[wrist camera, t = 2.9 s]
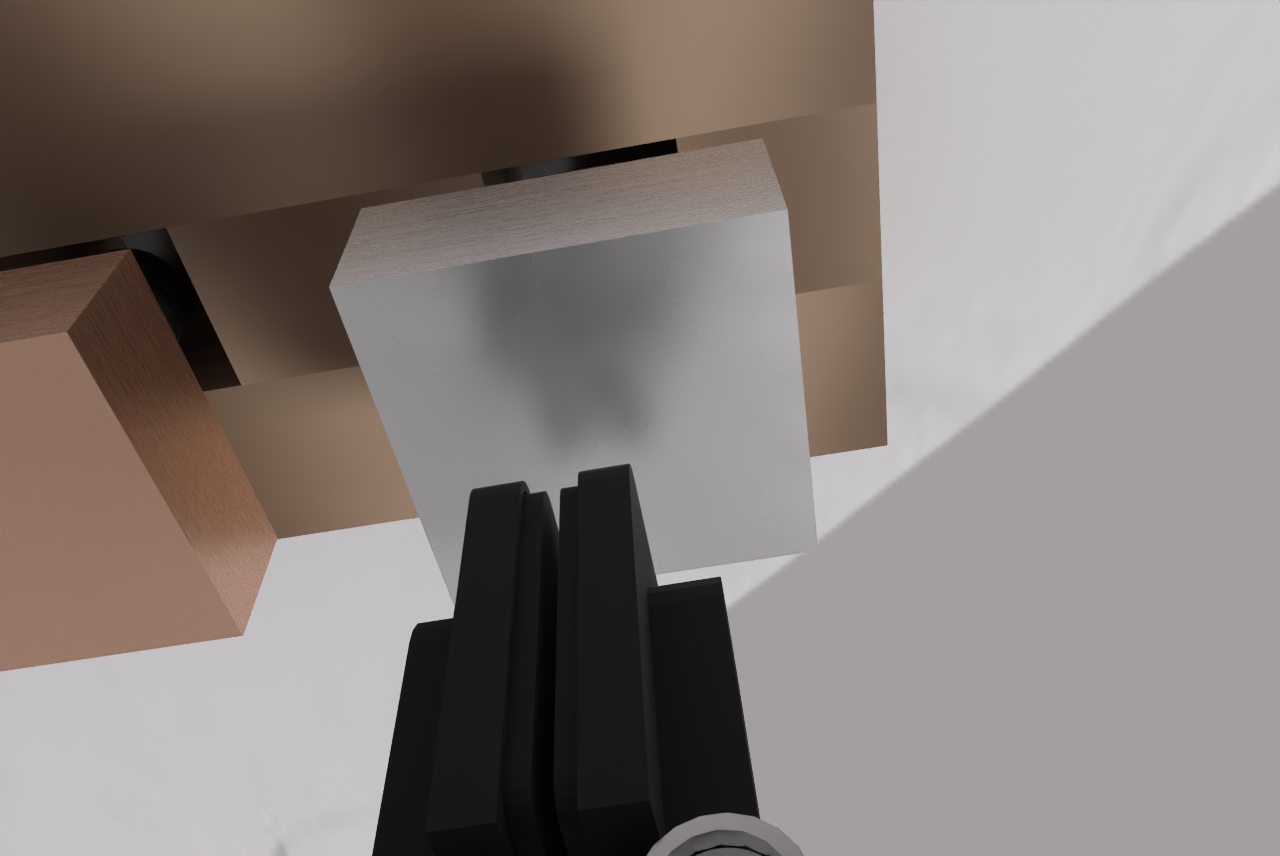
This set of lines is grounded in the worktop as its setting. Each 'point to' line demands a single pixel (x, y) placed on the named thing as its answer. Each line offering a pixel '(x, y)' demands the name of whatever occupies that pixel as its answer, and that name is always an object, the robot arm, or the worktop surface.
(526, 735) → the robot arm
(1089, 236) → the worktop surface
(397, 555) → the worktop surface
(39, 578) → the middle button
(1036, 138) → the worktop surface
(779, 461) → the button
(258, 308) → the button panel
